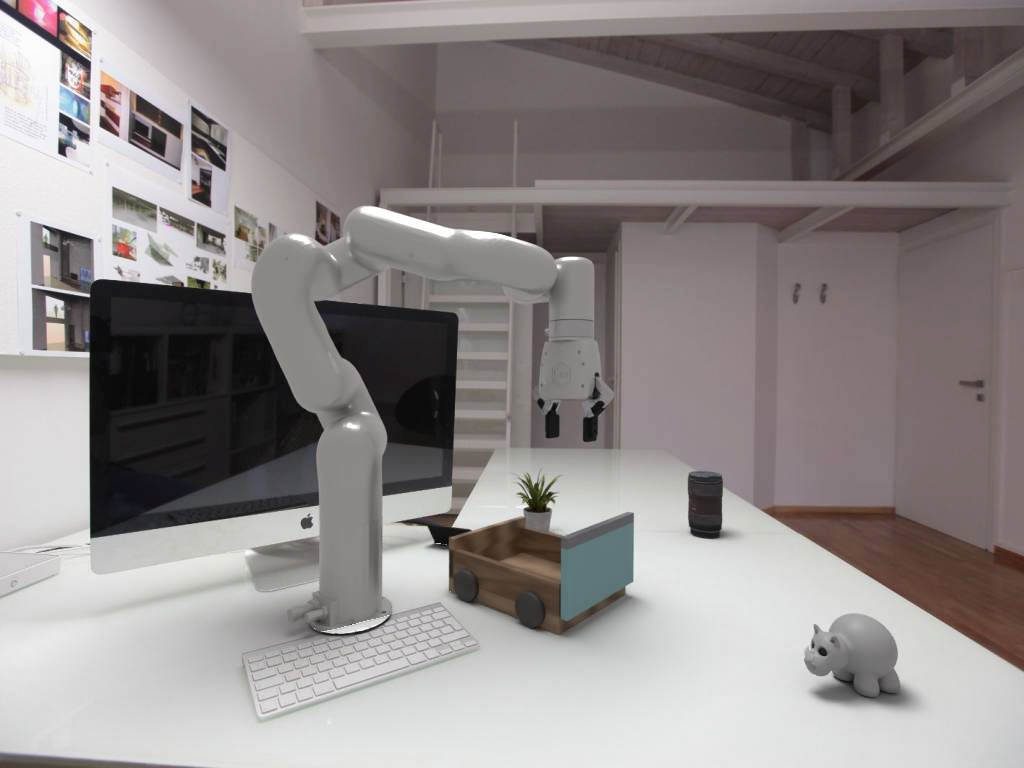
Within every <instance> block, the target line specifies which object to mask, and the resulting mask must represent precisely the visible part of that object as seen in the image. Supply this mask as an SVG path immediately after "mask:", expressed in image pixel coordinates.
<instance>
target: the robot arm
mask: <svg viewBox="0 0 1024 768" xmlns="http://www.w3.org/2000/svg"><path fill="white" fill-rule="evenodd" d="M342 231H343V232H342V233H343V235H342V237H340V238H338V239H336V240H334V241H332V242H330V243H328V244H325V245H324V246H323V245H322V244H321V243H320V242H318V240H316V239H314V238H313V237H310V236H307V235H305V234H302V233H293V232H291V233H286V234H283V235H280V236H278V237H276V238H275V239H273V240H271V242H270V243H268V244H267V245H266V246H265V247H264V249H263V250H262V251H261V252H260V254H259V256H258V258H257V259H256V262H255V264H254V267H253V271H252V275H251V281H250V282H251V283H250V284H251V285H250V287H251V299H252V303H253V306H254V310H255V312H256V315H257V318H258V319H259V320H258V321H259V322H260V325H261V327H262V329H263V332H264V333H265V335H266V337H267V339H268V342H269V344H270V346H271V348H272V350H273V351H272V352H273V353H274V355H275V357H276V360H277V362H278V364H279V366H280V368H281V370H282V373H283V374H284V376H285V378H286V381H287V383H288V386H289V387H290V390H291V393H292V394H293V397H294V398H295V400H296V402H297V403H298V404H299V405H300V407H302V408H303V409H305V410H306V411H307V412H310V413H313V414H315V415H316V416H317V417H318V421H319V422H320V424H321V427H322V429H323V431H322V433H321V436H320V438H319V440H318V443H317V447H316V453H315V454H316V458H315V459H316V460H315V461H316V471H317V472H316V473H317V480H318V482H317V483H318V502H319V503H318V508H319V509H318V520H319V523H318V524H319V526H318V527H319V535H318V537H319V540H318V542H319V546H318V547H319V550H318V551H319V555H318V556H319V558H318V559H319V560H318V562H319V563H318V565H319V566H318V567H319V571H318V572H319V575H318V578H319V579H318V585H319V586H318V588H319V589H318V590H315V591H313V592H312V599H309V600H307V603H305V604H300V605H296V606H293V607H290V608H288V610H287V612H286V613H287V614H286V615H287V619H288V621H289V623H294V622H297V621H299V620H302V619H304V621H305V623H306V624H310V625H311V626H312V627H313V628H315V629H316V630H318V631H317V632H319V631H327V630H332V629H337V628H341V627H344V626H349V625H352V624H356V623H359V622H363V621H367V620H371V619H376V618H380V617H384V616H387V615H390V614H391V615H392V614H393V604H392V602H391V601H390V600H389V599H388V598H387V597H386V596H383V522H384V521H383V467H382V466H383V465H382V464H383V455H384V454H385V452H386V450H387V449H386V448H387V444H388V434H387V430H386V427H385V425H384V423H383V420H382V419H381V416H380V414H379V412H378V410H377V408H376V406H375V404H374V402H373V400H372V397H371V395H370V393H369V391H368V388H367V387H366V385H365V383H364V380H363V378H362V376H361V374H360V373H359V372H358V370H357V369H356V367H355V366H354V365H353V364H352V363H351V362H350V361H349V360H347V359H345V358H343V357H342V356H341V355H340V353H339V351H338V349H337V348H336V346H335V343H334V341H333V340H332V338H331V336H330V334H329V331H328V329H327V326H326V323H325V322H324V320H323V318H322V316H321V315H320V313H319V311H318V309H317V306H316V304H315V302H321V301H326V300H329V299H332V298H334V297H336V296H339V295H341V294H343V293H345V292H346V291H348V290H351V289H353V288H355V287H357V286H359V285H361V284H363V283H365V282H367V281H370V280H371V279H373V278H375V277H377V276H379V275H380V274H382V273H384V272H385V271H388V270H389V269H390V268H391V269H395V270H399V271H403V272H406V273H410V274H413V275H417V276H419V277H423V278H427V279H431V280H434V281H441V282H448V281H454V280H474V281H475V280H476V281H481V282H487V283H491V284H495V285H498V286H502V287H501V288H502V291H503V293H504V295H505V296H506V297H507V298H508V299H509V300H510V301H512V302H514V303H515V304H519V305H530V304H540V303H548V328H547V327H545V329H544V335H545V336H547V337H548V341H545V342H544V345H543V349H542V354H541V359H540V367H539V368H540V369H539V380H538V381H539V383H538V384H537V385H536V386H535V387H534V388H533V389H532V390H531V395H532V396H533V398H534V400H535V401H536V403H537V406H539V408H540V409H541V413H542V415H544V419H545V421H544V424H545V425H544V431H545V438H546V439H555V438H557V439H558V438H559V437H560V425H561V423H560V422H561V420H560V419H561V417H560V414H559V413H558V410H559V407H560V405H561V403H562V401H565V402H566V401H567V402H580V403H581V405H582V408H583V412H584V414H585V417H583V419H582V441H583V442H584V443H591V442H592V443H593V442H597V439H598V434H599V417H601V415H602V413H603V412H604V411H605V410H606V409H607V407H608V405H610V403H611V401H613V399H614V398H615V395H616V393H615V392H614V391H613V390H612V389H611V387H609V386H608V384H607V383H605V381H604V380H603V378H602V377H603V376H602V374H603V373H602V364H601V355H600V350H599V344H598V341H597V340H595V266H594V262H592V260H590V259H589V258H586V257H582V256H565V257H564V256H563V257H559V258H556V259H555V258H554V256H552V254H551V253H550V252H548V250H546V249H544V248H543V247H542V246H541V247H540V246H539V245H536V244H533V243H530V242H528V241H525V240H521V239H517V238H514V237H511V236H509V235H508V236H507V235H504V234H501V233H500V234H499V233H495V232H489V231H481V230H480V231H479V230H470V229H461V228H450V227H447V226H443V225H439V224H437V223H431V222H429V221H426V220H423V219H420V218H416V217H412V216H410V215H409V216H408V215H406V214H403V213H398V212H396V211H393V210H390V209H385V208H381V207H379V206H373V205H362V206H357V207H355V208H354V209H352V211H350V212H349V213H348V215H347V216H346V218H345V220H344V224H343V230H342ZM598 399H599V400H598ZM310 625H309V626H310ZM311 626H310V627H311ZM312 627H311V628H312ZM313 628H312V629H313ZM316 630H315V631H316Z"/></svg>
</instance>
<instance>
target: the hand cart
mask: <svg viewBox="0 0 1024 768" xmlns="http://www.w3.org/2000/svg"><path fill="white" fill-rule="evenodd" d="M563 536H564V535H562V534H558V533H557V534H556V533H552V532H550V531H549V532H545V531H541V530H537V529H533V528H529V527H526V517H524V515H520V516H517V517H514V518H511V519H507V520H504V521H500V522H496V523H494V524H490V525H487V526H483V527H480V528H477V529H473V530H472V531H470V532H466V533H463V534H460V535H456V536H453V537H450V538H449V546H448V592H450V591H451V592H450V593H452V592H453V594H455V593H456V596H457V598H458V599H460V600H461V601H462V602H465V603H468V602H471V601H472V600H473V602H475V603H478V604H480V605H482V604H483V606H484V607H488V608H490V609H492V610H495V611H498V612H501V613H502V612H503V614H505V615H507V614H508V616H510V617H512V616H513V618H515V619H517V618H518V621H519V622H520V623H521V624H522V625H523V626H525V628H528V629H534V628H536V627H537V628H540V629H543V630H546V631H548V632H550V633H553V634H555V635H558V636H560V635H561V634H563V633H565V632H566V631H567V630H570V629H571V628H573V627H574V626H576V625H577V624H579V623H581V622H582V621H584V620H586V619H587V618H588V616H589V617H590V616H592V615H593V613H594V614H595V613H597V612H598V611H600V610H602V609H603V608H605V607H607V606H608V605H609V604H611V603H613V602H615V601H616V600H618V599H619V598H621V597H623V596H624V595H626V591H627V589H626V587H627V586H625V587H624V588H622V589H620V590H619V591H617V592H615V593H614V594H612V595H610V596H609V597H607V598H605V599H604V600H602V601H600V602H599V603H597V604H595V605H594V606H592V607H590V608H589V609H587V610H585V611H584V612H582V613H580V614H579V615H577V616H575V617H574V618H572V619H570V620H569V621H565V620H563V619H561V537H563ZM601 608H602V609H601ZM596 611H597V612H596ZM585 618H586V619H585ZM580 621H581V622H580ZM564 631H565V632H564ZM562 632H563V633H562ZM559 634H560V635H559Z"/></svg>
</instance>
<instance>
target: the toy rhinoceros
mask: <svg viewBox="0 0 1024 768" xmlns="http://www.w3.org/2000/svg"><path fill="white" fill-rule="evenodd" d="M812 625H813V630H814V631H813V632H814V633H813V637H812V638H811V641H810V647H809V645H806V647H805V649H804V658H803V661H804V664H805V667H806V669H807V670H808V672H809V673H810V674H813V675H815V676H817V677H826V676H828V675H829V674H830V673H831V672H832V675H833V676H834V677H835V678H836V679H838V680H841V681H845V682H853V687H854V689H855V691H856V692H857V693H858V694H859V695H862V696H863V697H868V698H869V697H870V698H877V697H878V696H879V695H880V691H882V692H885V693H889V694H897V693H899V691H900V690H901V682H900V681H901V680H900V677H899V675H898V673H897V671H896V669H895V667H896V665H897V662H898V658H899V650H898V646H897V643H896V640H895V638H894V636H893V634H892V633H891V632H890V630H889V629H888V628H887V627H886V626H885V625H884V624H883V623H881V622H880V621H879V620H878V619H876V618H873V617H872V616H869V615H866V614H863V613H857V612H856V613H854V612H853V613H845V614H843V615H840V616H839V617H837V618H836V619H835V620H834V621H833V622H832V623H831V625H830V627H829V628H828V631H823V630H822V629H821V628H820V626H819V625H818V624H816V623H813V624H812Z"/></svg>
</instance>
